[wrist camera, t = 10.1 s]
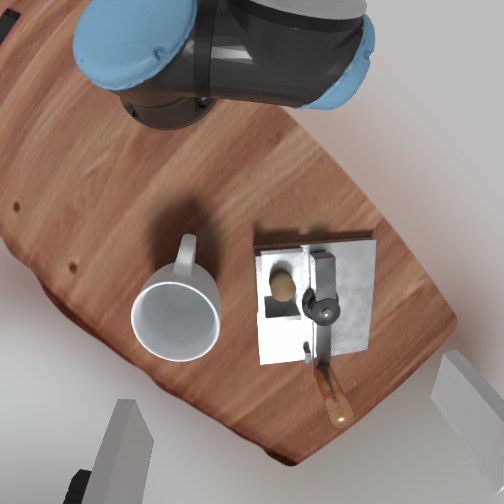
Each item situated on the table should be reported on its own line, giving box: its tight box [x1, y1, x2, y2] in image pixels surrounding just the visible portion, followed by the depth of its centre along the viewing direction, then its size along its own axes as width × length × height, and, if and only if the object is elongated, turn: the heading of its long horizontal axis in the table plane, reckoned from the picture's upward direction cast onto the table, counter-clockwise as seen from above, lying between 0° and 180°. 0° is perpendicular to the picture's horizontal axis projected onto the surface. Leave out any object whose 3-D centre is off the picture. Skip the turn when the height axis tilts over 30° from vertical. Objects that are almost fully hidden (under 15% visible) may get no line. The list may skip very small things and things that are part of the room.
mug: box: [131, 234, 221, 361], centre depth 42 cm, size 15×11×13 cm
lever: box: [307, 252, 354, 428], centre depth 42 cm, size 22×4×14 cm, turn 5°
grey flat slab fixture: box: [253, 237, 376, 364], centre depth 48 cm, size 20×19×6 cm
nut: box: [268, 270, 296, 302], centre depth 46 cm, size 4×4×3 cm
